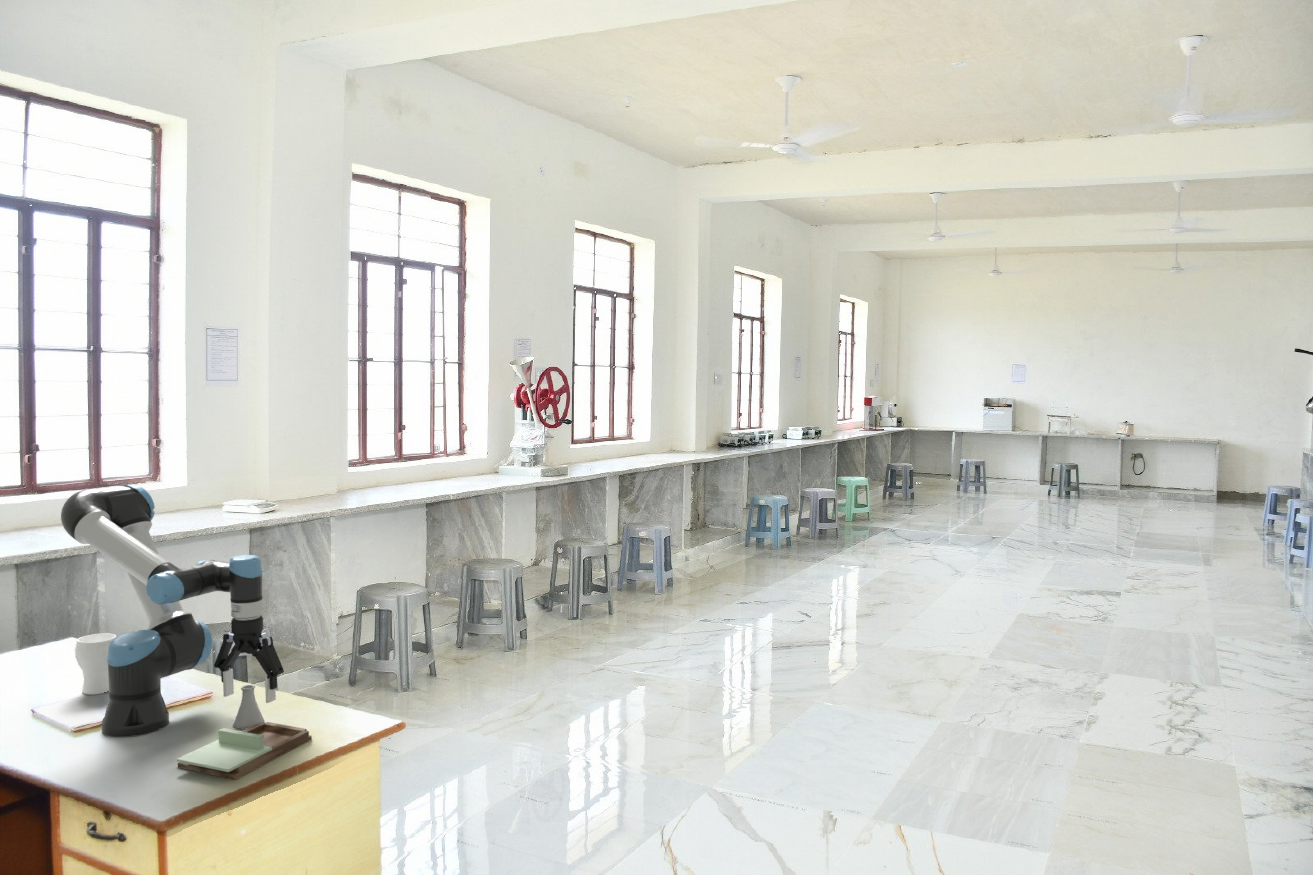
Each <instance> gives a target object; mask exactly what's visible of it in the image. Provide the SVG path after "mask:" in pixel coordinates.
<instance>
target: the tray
mask: <svg viewBox="0 0 1313 875" xmlns="http://www.w3.org/2000/svg"><path fill="white" fill-rule="evenodd" d="M242 732H248V733H253V734H258V735H264V746H267V747H272V750H271V751H269V752H267V753H265V754H263V755H261V756H259V757H257V758H255V759H253V760H251V761H249V762H247V763H245V764H243V765H241V766H240V767H238V768H236V769H234V770H232V771H230V772H225V771H220V770H215V769H211V768H206V767H201V766H196V765H191V764H186V763H181V762H177V768H180V769H184V770H190V771H193V772H198V773H203V774H208V775H212V776H218V777H224V778H226V779H233V780H237V779H240V778H241V777H244V776H246V775H247V774H250V773H252V771H255V770H257V769H259V768H261V767H263V766H264V765H266V764H268V763H270V762H271V761H274V760H275V759H278V758H279V757H281V755H282V756H283V755H285V754H287V753H289V752H291V751H293V750H295V749H297V748H298V747H300V746H302V745H304V744H306V743H308V742H310V741H312V739H313V738H312V737H313V736H312V735H310V731H308V730H307V728H304V727H298V726H292V725H287V724H281V723H276V722H269V721H267V722H263V723H258V724H256V725H254V726H252V727H250V728H247V729H243V730H242Z"/></svg>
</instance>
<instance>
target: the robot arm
mask: <svg viewBox="0 0 1313 875" xmlns="http://www.w3.org/2000/svg"><path fill="white" fill-rule="evenodd" d="M154 509H156V508H155V502H154V499H153V498H152V496H151V494H150V493H149V492H148V490H146V489H145V488H143V487H142V486H139V485H136V484H118V485H112V486H105V487H96V488H89V489H82V490H79V491H77V492H75V493H73V494H72V495H71V496H69V497H68V498H67V499H66V501H65V502H64V504H63V506H62V508H61V511H60V521H61V525H62V527H63V529H64V530H65V532H66V533H67V534H68V535H69V536H70V537H71V538H73V539H74V540H75V541H77V542H78V543H80V544H82V545H88V544H89V545H90V546H91V547H92V548H94V549H95V550H96V551H98V552H99V553H101V554H103V555H104V556H105V557H106V558H107V559H108V560H111V561H112V562H114V563H115V564H116V565H118V566H119V567H120V568H121V569H122V570H124V571H126V573H127V574H128V578H129V580H130V581H131V584H132V586H133V588H134V591H135V594H136V596H137V598H138V600H139V602H140V605H141V607H142V609H143V612H144V615H145V616H146V619H147V621H148V623H149V625H148V627H147V629H139V630H137V631H130V632H127V633H123V634H121V635H119V636H116V637H117V638H115V639H114V640H113V641H112V642H111V643H110V645H109V648H108V657H107V662H108V677H109V692H108V703H107V706H106V710H105V714H104V717H103V718H102V720H101V732H102V734H104V735H106V736H108V737H115V738H116V737H117V738H124V737H125V738H128V737H136V736H138V737H139V736H142V735H146V734H150V733H155V732H157V731H159V730H162V729H164V728H165V727H167V725H168V724H169V723H170V713H169V710H168V709H167V705H166V702H165V700H164V698H163V695H162V693H161V692H162V691H161V690H162V688H161V687H162V685H161V683H162V682H161V679H163V678H166V677H169V676H172V675H175V674H178V673H181V672H182V673H183V671H189V670H192V669H194V668H196V667H198V666H201V665H203V664H204V663H205V662H206V661H207V660H208V659H209V657H210V656H211V653H212V649H213V643H214V641H213V635H212V631H211V629H210V628H209V626H208V625H207V624H206V623H204V622H203V621H199V620H198V621H197V620H196V621H195V618H194V616H193V614H192V612H189V611H186V610H184V608H183V607H182V605H181V602H180V601H183V600H184V601H185V600H187V599H190V598H194V597H199V596H202V595H205V594H210V593H213V592H214V593H215V592H223V593H224V592H225V593H229V596H230V612H231V613H230V617H232V618H231V620H230V622H231V623H230V624H231V625H230V626H231V631H229V632H227V633H224V634H223V635H222V636H223V637H222V643H221V646H220V649H219V651H218V654H217V656H216V659H215V662H214V664H213V665H214V668H215V669H219V670H220V674H221V676H220V677H221V683H222V684H223V685H222V687H223V690H222V691H223V697H225V698H226V697H228V696H229V697H230V696H231V695H234V692H235V691H234V689H235V686H234V668H232V667H233V666H232V665H233V664H234V663H235V661H236V660H237V659H238V657H239V656H240V655H241V654H245V653H246V654H248V655H252V657H254V658H255V659H256V660H257V661H258V662H257V663H259V665H260V667H261V668H262V669H263V671H264V673H265V674H266V677H264V684H265V688H264V689H265V690H264V691H265V692H264V693H265V703H266V704H269V703H272V702H273V701H276V700H277V697H276V696H277V695H276V694H277V693H276V689H277V688H278V676H279V675H281V674H284V672H285V669H284V667H283V665H282V663H281V660H280V658H279V656H278V652H277V650H276V648H275V645H274V639H273V637H272V636H267V637H263V636H262V632H263V630H264V616H262V615H263V614H264V607H263V606H264V605H263V568H262V560H261V558H260V557H259V556H258V555H254V554H241V555H235V556H232V557H231V558H230V559H229V562H228V561H219V560H215V559H209V560H208V559H207V560H206V559H205V560H204V559H203V560H199V561H198V562H197V563H196V564H195V565H192V566H188V567H184V568H179V567H178V566H177V565H175V564H173V563H172V562H170V561H169V560H167V558H164V557H163V556H162V555H161V554H160V553H159V551H158V549H157V546H156V545H155V542H154V541H153V538H152V535H151V533H150V530H151V529H152V527H153V523H152V520H153V519H154V517H155V514H156V513H155V511H154ZM233 643H234V645H233ZM232 646H233V647H232Z"/></svg>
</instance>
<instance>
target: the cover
mask: <svg viewBox="0 0 1313 875" xmlns="http://www.w3.org/2000/svg"><path fill="white" fill-rule="evenodd" d="M242 731H243V730H242ZM242 731H240V730H237V729H236V730H235V729H231V728H226V727H223V728H220V729H218V732H217V733H218V739H216V740H214V741H212V742H210V743H207V744H206V745H204V746H201V747H199V748H197V749H194V750H193V751H191V752H188V753H186V754H184V755H181V756H180V757H178V758H176V762H177V763H179V762H181V763H186V764H191V765H196V766H201V767H206V768H211V769H215V770H220V771H225V772H230V771H232V770H234V769H236V768H238V767H240V766H241V765H243V764H245V763H247V762H249V761H251V760H253V759H255V758H257V757H259V756H261V755H263V754H265V753H267V752H269V751H271V750H272V747H267V746H264V735H258V734H253V733H248V732H242Z"/></svg>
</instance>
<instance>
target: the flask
mask: <svg viewBox="0 0 1313 875" xmlns="http://www.w3.org/2000/svg"><path fill="white" fill-rule="evenodd" d="M255 688H256V685H254V684H246V685H242V686H241V688H240V689H241V691H242V693H241V694H242V695H241V700H240V701H241V702H240V704H239V707H238V711H237V713H236V715H235V716H236V717H235V719H234V722H233V725H232V727H234V728H237V729H240V730H241V729H243V730H245V729H247V728H250V727H252V726H254V725H256V724H258V723H265V719H264V717H263V714H262V712H261V710H260V708H259V706H258V703H257V700H256V696H255Z"/></svg>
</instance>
